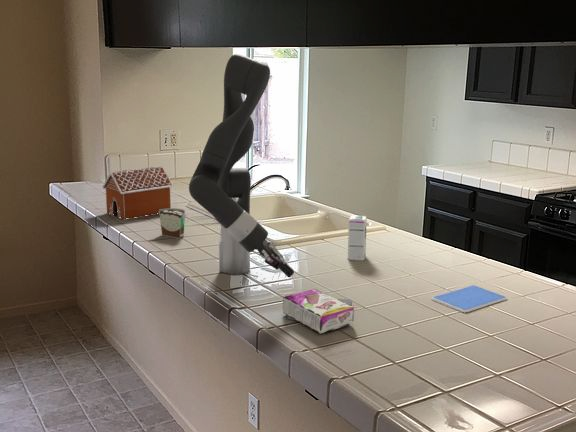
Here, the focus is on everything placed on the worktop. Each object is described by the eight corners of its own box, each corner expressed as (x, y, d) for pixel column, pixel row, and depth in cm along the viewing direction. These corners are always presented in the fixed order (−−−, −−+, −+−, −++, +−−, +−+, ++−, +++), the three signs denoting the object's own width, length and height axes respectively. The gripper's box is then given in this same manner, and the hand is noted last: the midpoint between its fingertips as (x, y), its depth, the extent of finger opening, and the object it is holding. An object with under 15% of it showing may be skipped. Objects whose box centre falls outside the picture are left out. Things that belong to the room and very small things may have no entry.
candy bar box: (314, 287, 172) (355, 306, 160) (314, 304, 174) (354, 324, 161) (282, 295, 166) (321, 316, 153) (281, 313, 167) (320, 335, 154)
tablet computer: (473, 288, 191) (473, 284, 191) (508, 300, 181) (509, 296, 181) (429, 301, 180) (430, 297, 180) (464, 315, 170) (465, 311, 170)
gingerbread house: (102, 213, 274) (99, 168, 269) (153, 204, 291) (152, 162, 286) (123, 221, 261) (120, 174, 256) (175, 212, 278) (174, 167, 273)
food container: (193, 236, 241) (193, 210, 238) (183, 239, 236) (182, 213, 233) (170, 231, 247) (169, 206, 245) (159, 234, 242) (158, 209, 240)
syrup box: (364, 260, 214) (366, 219, 210) (347, 259, 215) (348, 218, 211) (365, 255, 219) (367, 215, 216) (348, 254, 220) (350, 214, 217)
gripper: (256, 227, 160) (302, 273, 164) (257, 215, 173) (300, 257, 177) (235, 247, 162) (282, 292, 165) (238, 233, 174) (281, 275, 178)
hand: (291, 274), depth 171 cm, fingers closed
